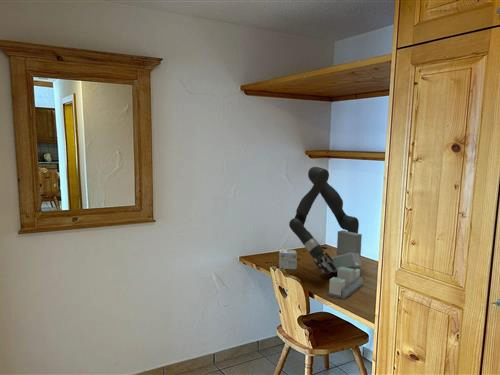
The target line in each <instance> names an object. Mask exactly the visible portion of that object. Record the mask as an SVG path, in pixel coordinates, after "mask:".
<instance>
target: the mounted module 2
mask: <svg viewBox="0 0 500 375" xmlns="http://www.w3.org/2000/svg"><path fill="white" fill-rule="evenodd" d="M349 268H350V267H349ZM351 269H354V273H353V282H354V281H356V280H357V279H358V278H360V277H361V276H360V275H361V274H360V272H361V268H360V269H355V268H351Z"/></svg>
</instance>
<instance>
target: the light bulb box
mask: <svg viewBox="0 0 500 375" xmlns="http://www.w3.org/2000/svg"><path fill="white" fill-rule="evenodd" d="M297 254H298V253H297V250H295V249H279V252H278V257H279V258H278V267H279V269H280V268H283V269H282V270H297V268H298V267H297V263H298V262H297V260H298V258H297V257H298V255H297Z"/></svg>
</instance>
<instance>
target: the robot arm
mask: <svg viewBox="0 0 500 375" xmlns="http://www.w3.org/2000/svg"><path fill="white" fill-rule="evenodd" d="M307 175H308V176H307V177H308V179H309V181H310V182H311V183H312V184H313V185H312V187H311V188H310V190H309V191H308V192H307V193H306V194H305V195H304V196H303V197H302V198H301V200H300V201H299V204H298V206H297V208H296V210H295V216H294V218H292V219H290V221H289V222H288V224H289V228H290V229H291V231H292V232H293V233H294V234H295V235H296V237H297V238H298V240H300V242H301V244H302V245H303V246H304V248H305V250H306V251H307V252H308V254H309V255H310V256H311V257H312V259H313V262H314V264H315V265H316V266H317V268H318V270H322V269H323V270H324V272H325V273H324V274H325V275H329V274H330V272H329V270H328V269H327V268H326V266H325V264H328V265H329V266H330V267H331V269H332V270H333V271H334V270H336V267H335V266H334V265H333V260H332V259H331V258H332V257H331V256H330V255H329V254H328V252H325V253H324V251H325V249H324V248H323V247H322V246H321V244H320V243H319V242H318V241H317V240H316V239H315V238H314V236H313V234H311V232H310V231H309V230H307V228H306V227H305V226H304V225H305V223H306V220H307V217H308V215H309V213H310V210H311V208H312V206H313V205H314V202H315V200H316V199H317V197H318V196H319V194H320V195H321V197H322V199H323V200H324V202H325V204H326V205H327V206H328V208H329V209H330V211H331V213H332V214H333V216H334V217H335V219H336V221H337V223H338V225H339V227H340V229H342V230H344V231H348V232H353V233H358V234H359V227H360V226H359V225H360V224H359V220H358V218H357V217H355V216H352V215H351V216H350V215H348V214H346V212H345V211H344V209H343V207H344V200H343V199H342V197H341V195H340V193H338V191H337V190H336V189H335V188H334V187H333V186H332V185H330V184H329V183H328V180H329V177H330V172H329V171H328V169H325V168H322V167H318V166H312V167H310V168H309V170H308V172H307ZM328 262H329V263H328Z"/></svg>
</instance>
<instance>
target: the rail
mask: <svg viewBox="0 0 500 375" xmlns="http://www.w3.org/2000/svg"><path fill="white" fill-rule="evenodd" d="M363 278H364V277H363V276H360V277H359V278H358V279H357V280H356V281H354V282H353V283H352V284H350V285H349V286H347V287H346V288H345V289H343V290H342V295H341V296H340V295H336V294H333V293H329V291H328V292H327V296H330V297H334V298H338V299H341V300H345V299H347V298H348V297H349V296H351V295H352V294H353V293H354V292H356V291H357V290H358V289H359V288H360V287H362V286H363V282H364V281H363V280H364V279H363Z"/></svg>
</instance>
